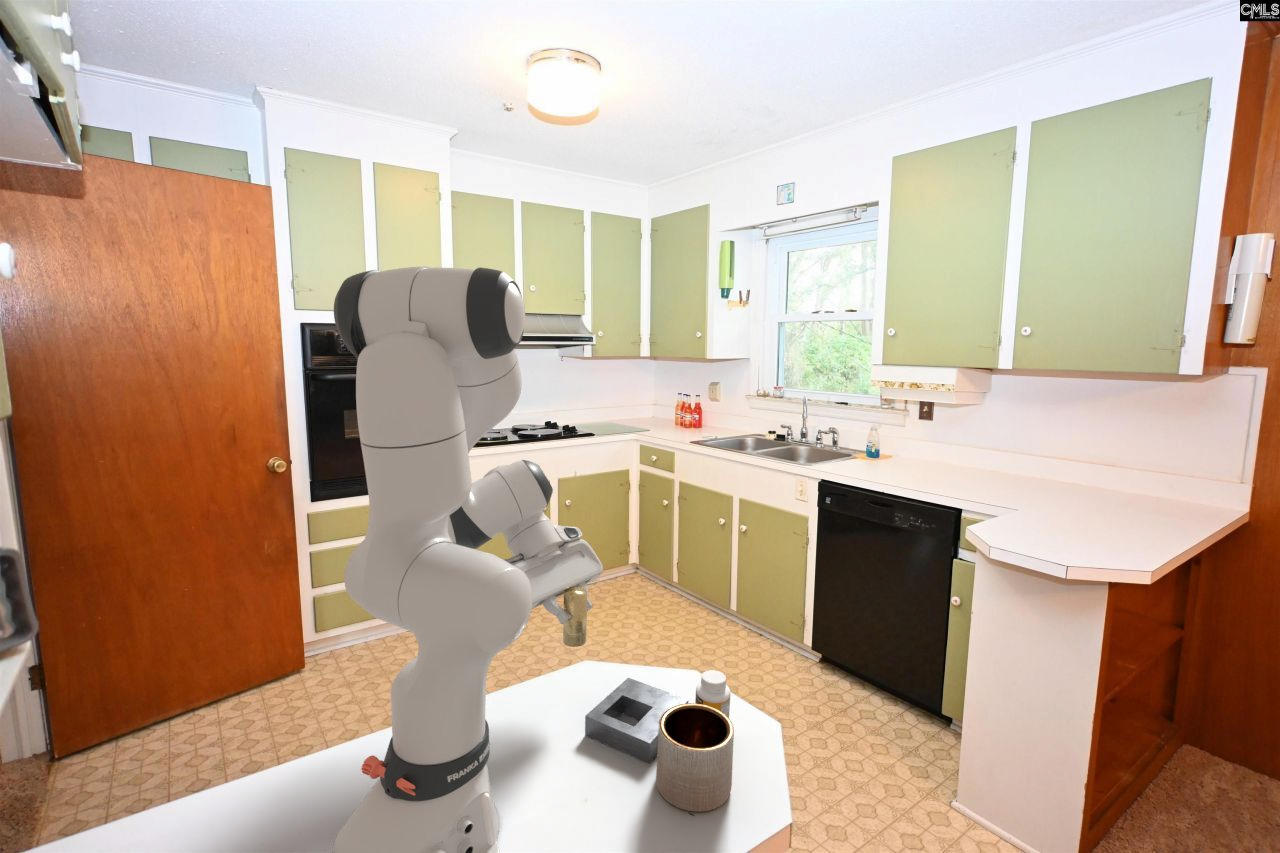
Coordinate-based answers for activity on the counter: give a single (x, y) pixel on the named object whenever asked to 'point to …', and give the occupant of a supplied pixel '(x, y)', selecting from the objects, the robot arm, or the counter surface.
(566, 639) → the gold round-topped cylinder
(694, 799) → the planter
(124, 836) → the counter surface
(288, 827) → the counter surface
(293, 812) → the counter surface
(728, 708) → the supplement bottle
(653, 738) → the jig plate
